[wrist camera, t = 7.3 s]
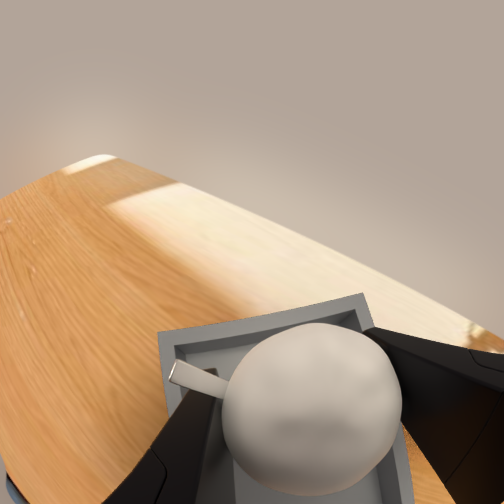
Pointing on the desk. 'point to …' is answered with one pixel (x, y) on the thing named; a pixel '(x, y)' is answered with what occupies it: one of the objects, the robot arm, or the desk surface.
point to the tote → (228, 358)
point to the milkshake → (306, 408)
